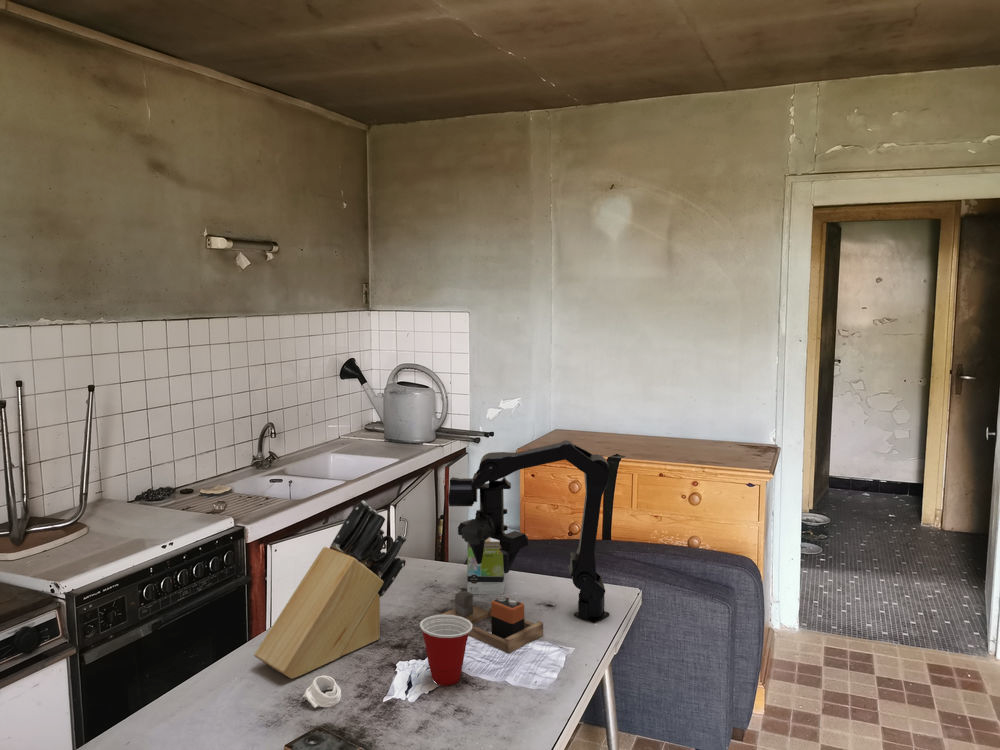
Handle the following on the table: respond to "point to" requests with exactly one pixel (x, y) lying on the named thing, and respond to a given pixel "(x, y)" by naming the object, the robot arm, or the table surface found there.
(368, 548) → the knife block
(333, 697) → the white plastic ring
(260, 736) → the table surface
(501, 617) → the battery
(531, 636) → the wooden tray frame
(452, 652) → the plastic cup
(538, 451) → the robot arm
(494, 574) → the tea box
